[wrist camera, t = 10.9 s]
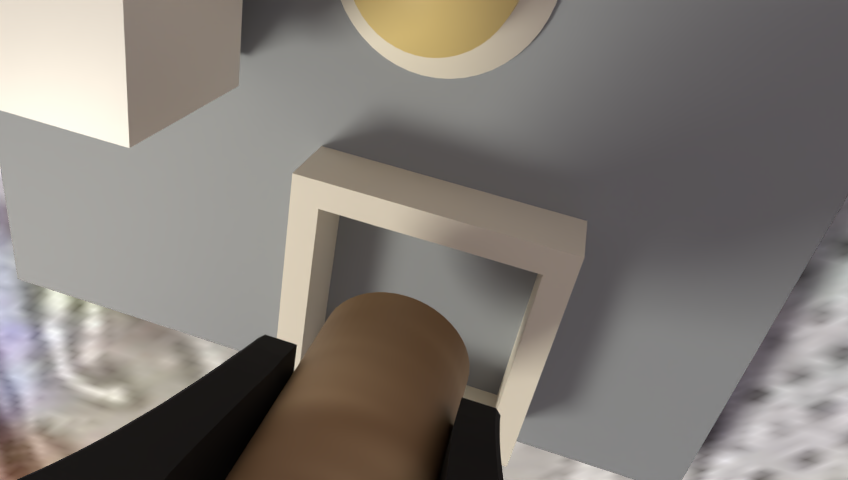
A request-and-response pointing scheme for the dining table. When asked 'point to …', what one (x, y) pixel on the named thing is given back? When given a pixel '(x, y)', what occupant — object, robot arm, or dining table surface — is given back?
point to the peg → (365, 398)
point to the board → (480, 198)
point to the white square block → (116, 62)
